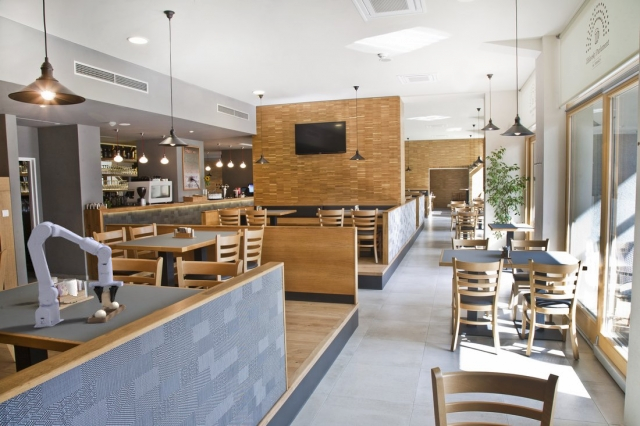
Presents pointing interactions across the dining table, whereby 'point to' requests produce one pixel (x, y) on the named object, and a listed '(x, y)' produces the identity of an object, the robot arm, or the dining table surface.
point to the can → (71, 285)
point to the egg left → (100, 313)
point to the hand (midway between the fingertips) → (107, 302)
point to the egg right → (114, 305)
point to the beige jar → (106, 299)
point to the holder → (107, 314)
